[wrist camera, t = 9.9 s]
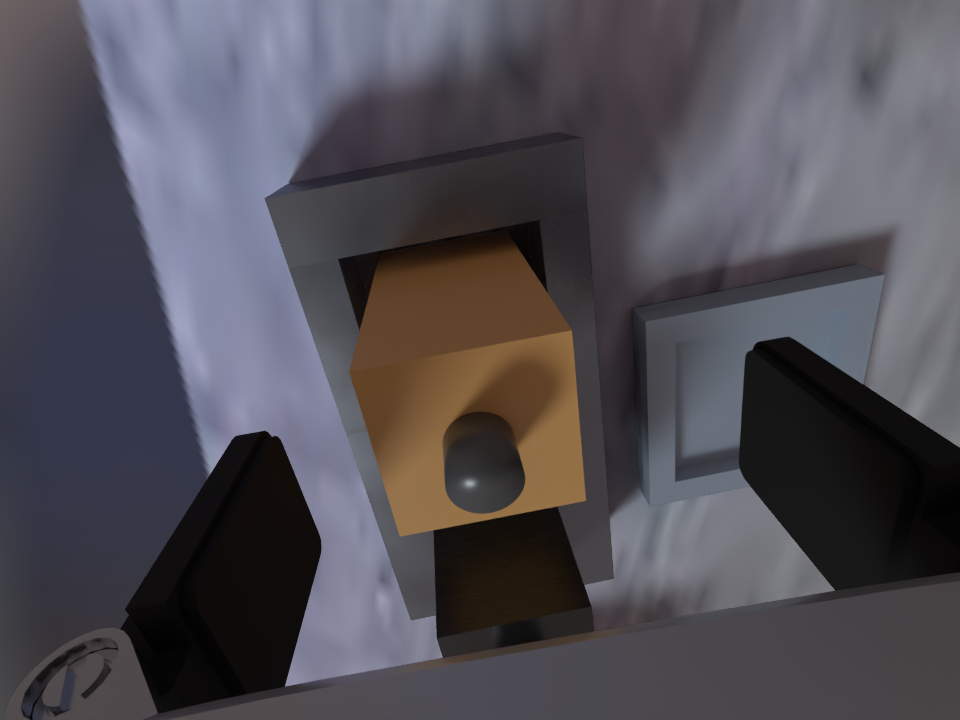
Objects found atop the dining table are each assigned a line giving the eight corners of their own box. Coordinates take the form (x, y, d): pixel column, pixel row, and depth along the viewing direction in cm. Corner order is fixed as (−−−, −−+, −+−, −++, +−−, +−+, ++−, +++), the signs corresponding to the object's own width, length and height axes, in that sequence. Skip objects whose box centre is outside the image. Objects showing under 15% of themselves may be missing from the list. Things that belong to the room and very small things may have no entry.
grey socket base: (287, 184, 15) (102, 301, 6) (558, 132, 15) (749, 177, 6) (411, 568, 22) (406, 873, 14) (594, 531, 23) (707, 808, 14)
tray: (857, 264, 18) (884, 274, 17) (826, 448, 22) (847, 466, 21) (632, 308, 18) (645, 321, 17) (638, 486, 22) (650, 506, 21)
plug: (506, 230, 16) (591, 360, 8) (521, 343, 18) (603, 543, 10) (379, 253, 16) (339, 407, 8) (407, 365, 18) (397, 583, 10)
